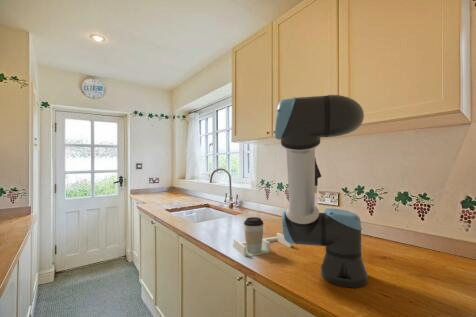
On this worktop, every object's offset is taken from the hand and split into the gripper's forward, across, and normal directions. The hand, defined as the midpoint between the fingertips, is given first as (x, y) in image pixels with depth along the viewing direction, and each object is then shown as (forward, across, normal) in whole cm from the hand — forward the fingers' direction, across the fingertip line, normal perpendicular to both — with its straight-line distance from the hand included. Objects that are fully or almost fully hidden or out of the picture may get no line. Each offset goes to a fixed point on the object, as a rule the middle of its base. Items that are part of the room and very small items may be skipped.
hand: (304, 191), depth 116 cm
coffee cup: (+26, +5, +25) cm, 37 cm away
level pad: (+26, +6, +25) cm, 37 cm away
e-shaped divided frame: (+26, +8, +19) cm, 34 cm away
